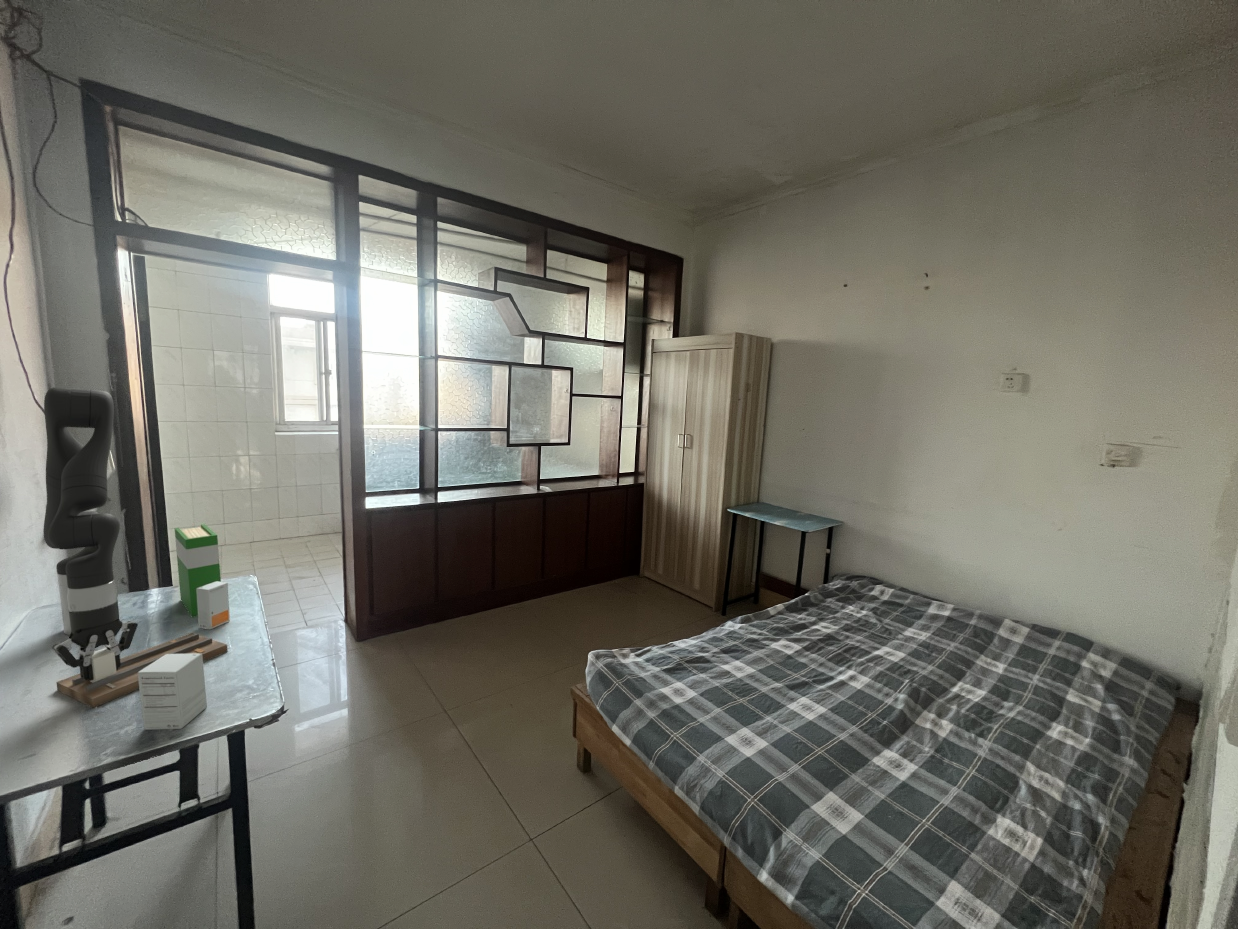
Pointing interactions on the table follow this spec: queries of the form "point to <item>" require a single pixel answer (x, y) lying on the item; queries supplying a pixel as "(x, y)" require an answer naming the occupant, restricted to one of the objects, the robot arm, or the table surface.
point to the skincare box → (213, 605)
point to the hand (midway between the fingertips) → (101, 674)
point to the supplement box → (172, 691)
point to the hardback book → (196, 562)
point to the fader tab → (103, 664)
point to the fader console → (136, 669)
